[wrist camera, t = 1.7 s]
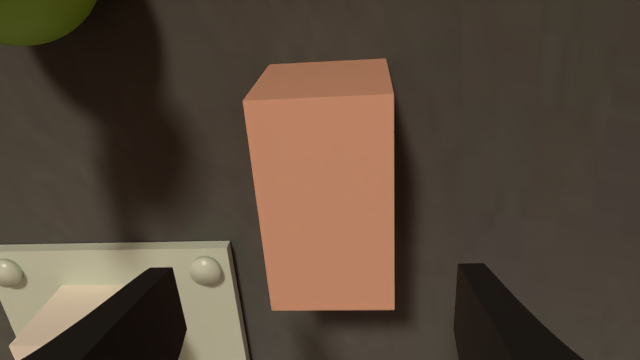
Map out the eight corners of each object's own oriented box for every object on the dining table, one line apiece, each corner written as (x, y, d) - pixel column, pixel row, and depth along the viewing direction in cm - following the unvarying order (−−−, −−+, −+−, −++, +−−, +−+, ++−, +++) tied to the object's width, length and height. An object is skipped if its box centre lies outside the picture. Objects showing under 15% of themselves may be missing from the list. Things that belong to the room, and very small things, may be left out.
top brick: (387, 235, 22) (394, 310, 18) (289, 237, 23) (271, 310, 18) (385, 57, 19) (394, 93, 14) (270, 63, 19) (242, 100, 15)
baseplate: (260, 420, 28) (256, 436, 27) (60, 417, 29) (50, 432, 28) (229, 240, 23) (224, 253, 22) (-12, 245, 24) (-27, 256, 23)
